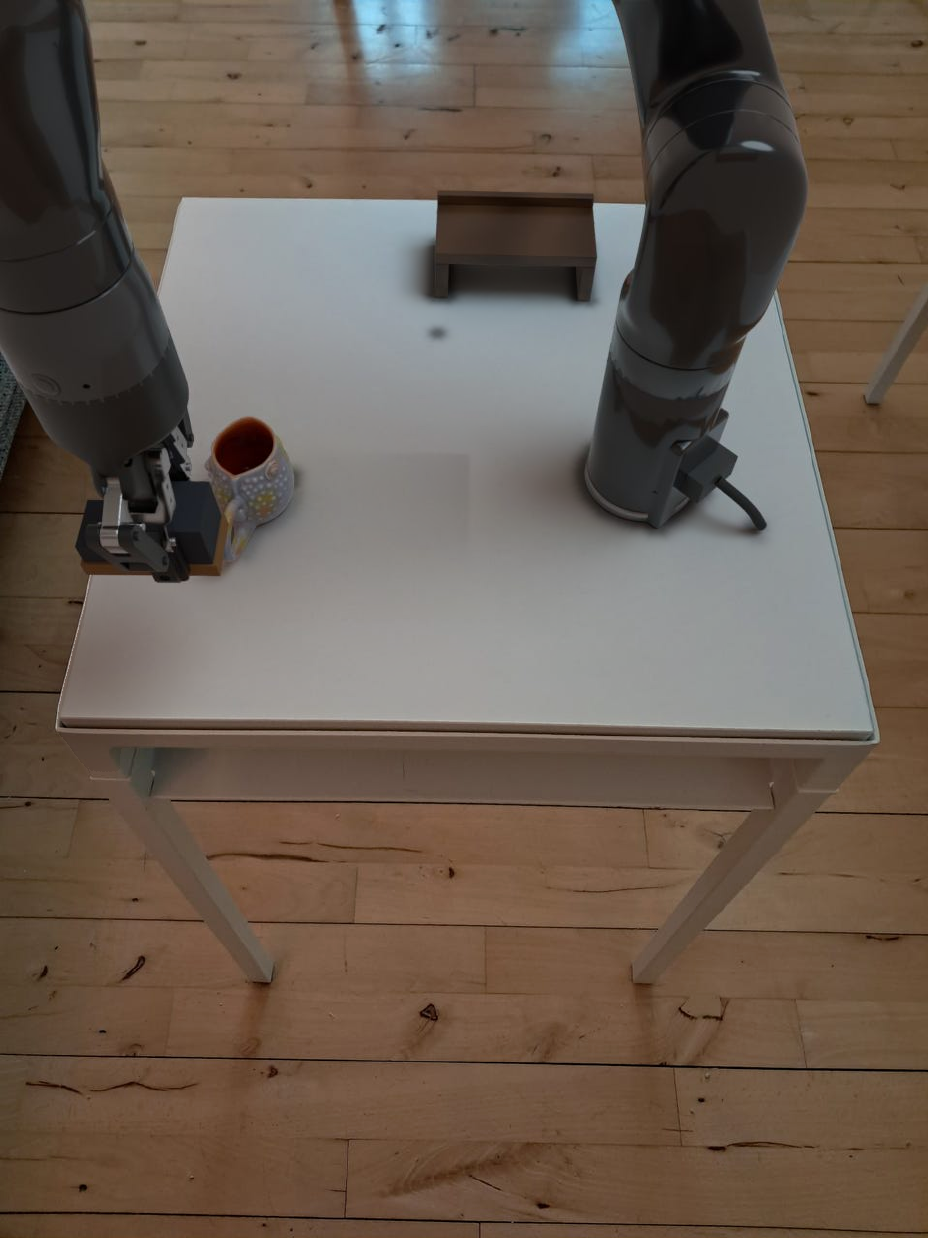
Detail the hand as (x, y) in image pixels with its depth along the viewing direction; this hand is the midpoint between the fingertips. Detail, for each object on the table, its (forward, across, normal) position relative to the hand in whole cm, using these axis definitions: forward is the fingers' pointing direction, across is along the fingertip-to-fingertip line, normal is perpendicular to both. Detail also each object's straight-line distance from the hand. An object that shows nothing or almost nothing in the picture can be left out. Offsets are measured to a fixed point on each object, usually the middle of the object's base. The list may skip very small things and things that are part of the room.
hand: (179, 545), depth 59 cm
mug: (+15, +13, 0) cm, 19 cm away
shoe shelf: (+15, +44, -23) cm, 52 cm away
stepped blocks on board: (0, 0, +1) cm, 1 cm away
